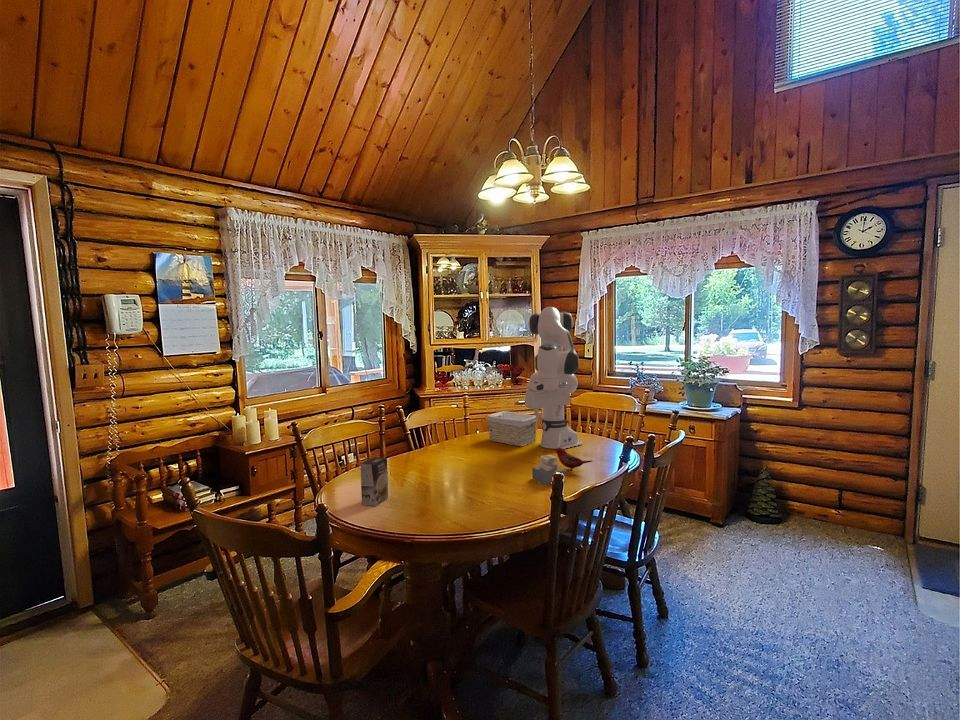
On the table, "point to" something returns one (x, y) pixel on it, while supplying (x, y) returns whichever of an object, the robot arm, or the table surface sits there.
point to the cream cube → (548, 462)
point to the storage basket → (512, 428)
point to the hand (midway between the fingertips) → (548, 417)
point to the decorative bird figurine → (569, 459)
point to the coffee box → (374, 481)
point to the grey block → (545, 474)
